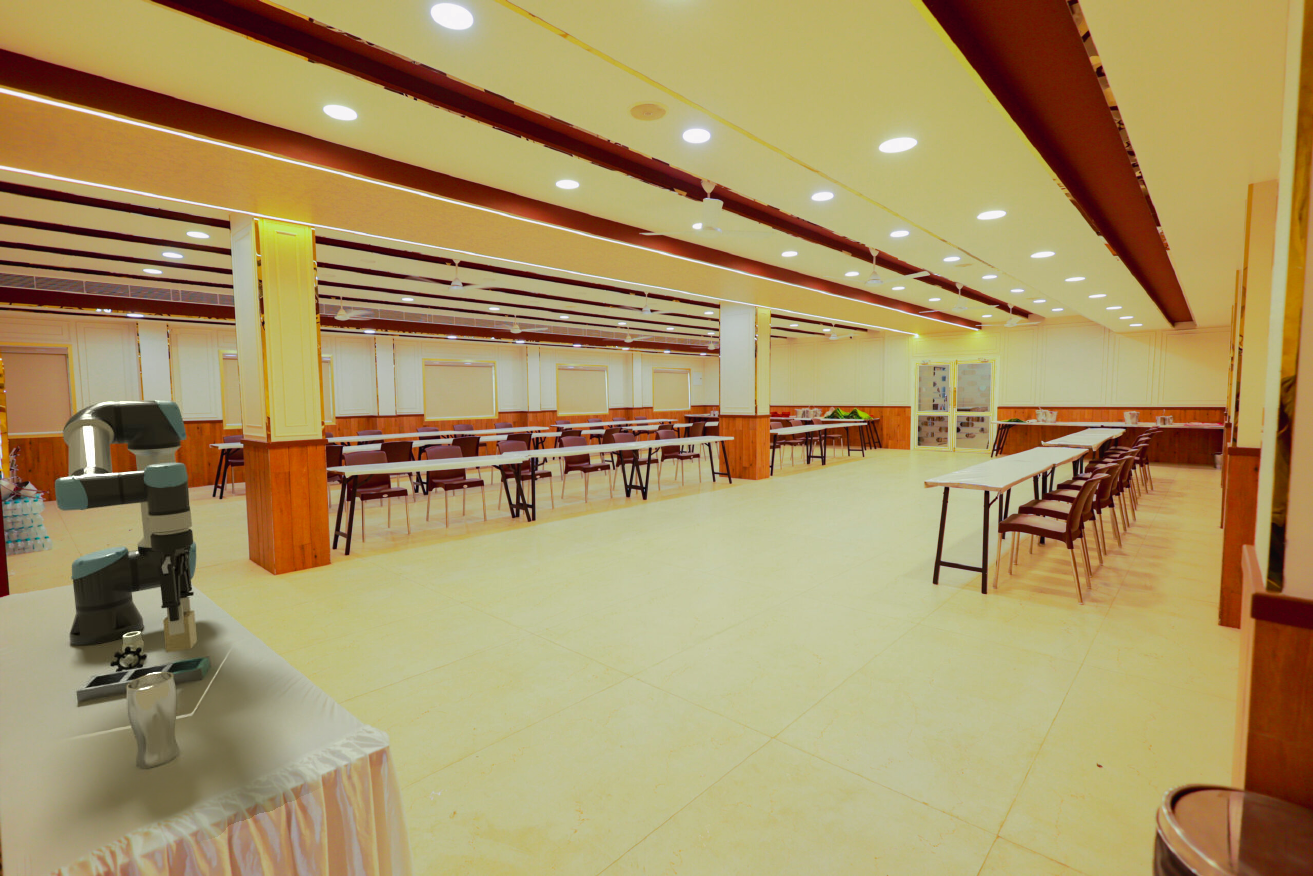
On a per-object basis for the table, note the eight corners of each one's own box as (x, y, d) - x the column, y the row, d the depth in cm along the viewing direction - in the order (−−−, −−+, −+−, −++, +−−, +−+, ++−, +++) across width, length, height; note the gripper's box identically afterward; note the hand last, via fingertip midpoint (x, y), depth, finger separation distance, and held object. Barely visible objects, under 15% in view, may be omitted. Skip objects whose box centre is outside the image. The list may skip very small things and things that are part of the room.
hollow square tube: (172, 644, 140) (169, 613, 139) (196, 641, 142) (194, 609, 141) (166, 652, 136) (163, 619, 135) (191, 648, 138) (188, 616, 137)
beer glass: (152, 748, 113) (144, 672, 111) (191, 745, 113) (184, 670, 112) (122, 772, 106) (114, 691, 104) (164, 769, 106) (156, 688, 105)
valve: (118, 660, 150) (111, 678, 141) (115, 634, 150) (108, 651, 140) (152, 652, 154) (148, 670, 145) (149, 628, 154) (145, 643, 144)
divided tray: (93, 688, 136) (91, 675, 135) (210, 668, 145) (209, 655, 144) (77, 704, 129) (76, 690, 129) (202, 681, 138) (200, 669, 138)
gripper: (164, 524, 143) (173, 618, 145) (135, 541, 127) (146, 647, 129) (202, 521, 146) (210, 613, 148) (179, 537, 130) (189, 640, 132)
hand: (180, 629), depth 138 cm, fingers closed on hollow square tube, 5 cm apart
